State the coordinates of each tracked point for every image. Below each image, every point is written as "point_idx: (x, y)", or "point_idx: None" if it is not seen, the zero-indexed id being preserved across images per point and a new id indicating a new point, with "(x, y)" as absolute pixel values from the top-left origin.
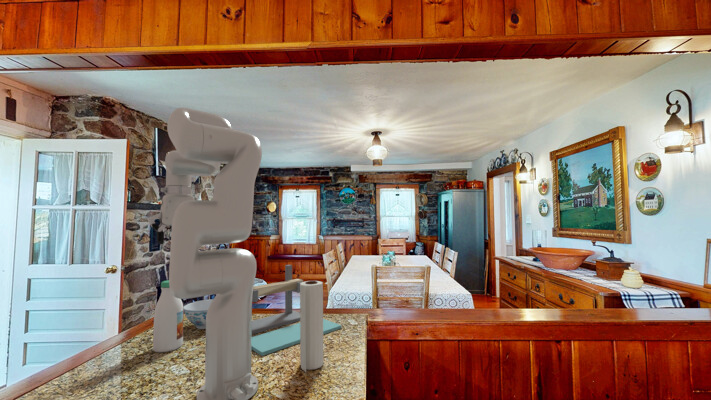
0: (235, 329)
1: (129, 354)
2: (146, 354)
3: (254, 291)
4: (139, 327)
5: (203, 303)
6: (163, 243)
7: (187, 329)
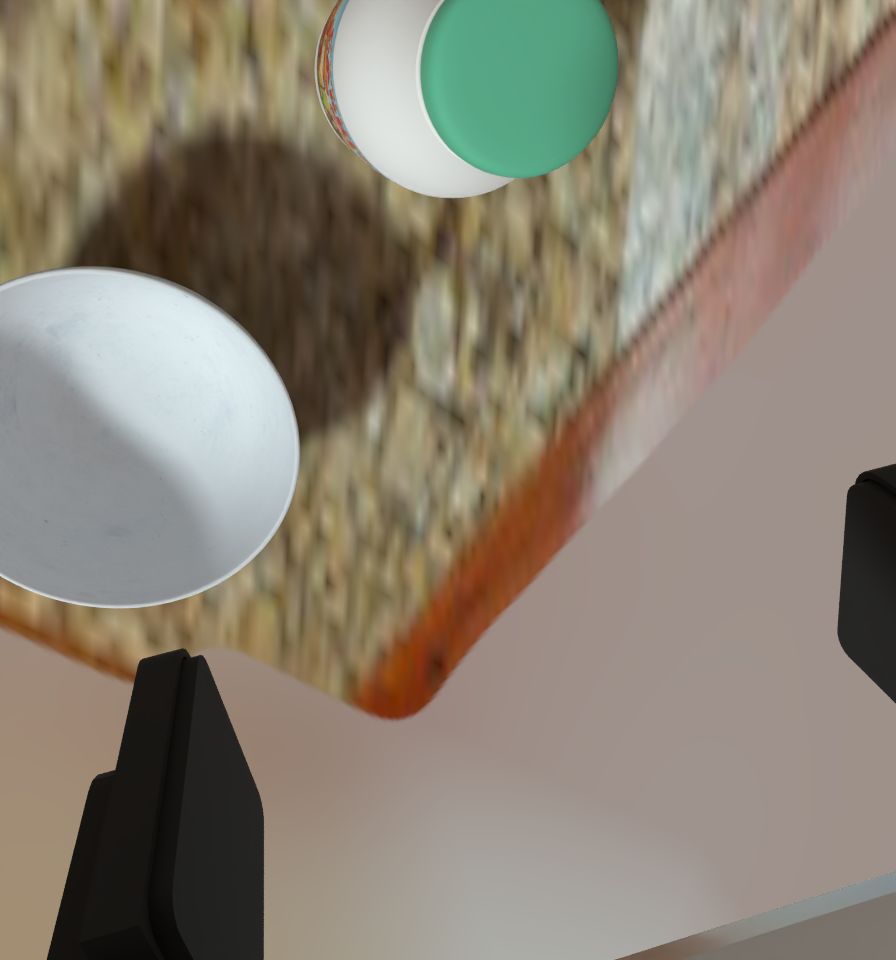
0: None
1: None
2: None
3: None
4: (515, 588)
5: (140, 584)
6: (853, 486)
7: None
